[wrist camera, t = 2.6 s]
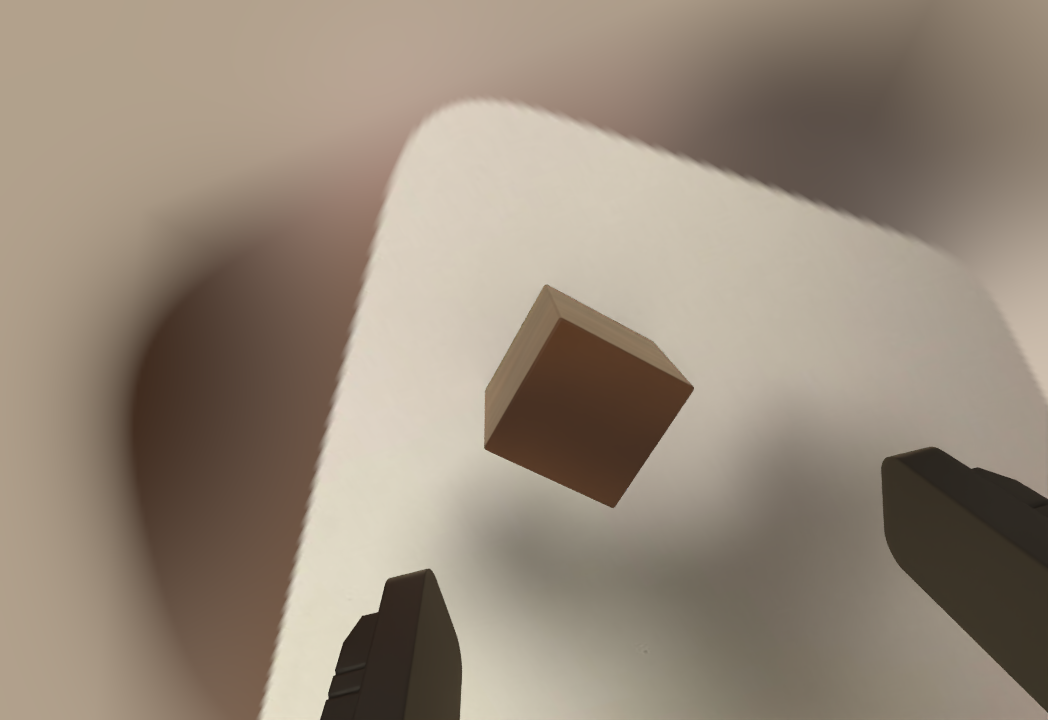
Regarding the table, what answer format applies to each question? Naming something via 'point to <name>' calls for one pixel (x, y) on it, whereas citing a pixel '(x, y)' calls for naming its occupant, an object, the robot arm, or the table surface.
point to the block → (581, 398)
